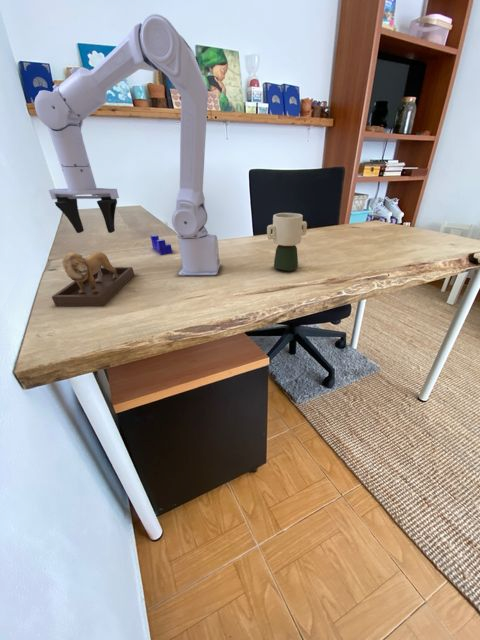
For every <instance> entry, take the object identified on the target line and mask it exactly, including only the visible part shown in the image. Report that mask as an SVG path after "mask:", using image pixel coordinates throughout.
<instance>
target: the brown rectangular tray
mask: <svg viewBox="0 0 480 640" xmlns="http://www.w3.org/2000/svg"><path fill="white" fill-rule="evenodd" d="M112 267H113V268H115V269H116V272H117V274H118V278H117V279H113V276H114V273H113V274H111V273H110V271H109V270H107V269H106V268H104V267H103V266H101V272H102V273H103V275H102V279H101V281H100V282H95V280H96V279H97V278H98V273H96V274H94V275H93V277H94V282H95V285H96V287H97V290H98V292H96V293H92V290H91V286H90V283H89V281H88V280H86V281H83V285H84V287H85V292H84V293H79V290H81V289H80V287H79V285H78V283H77V282H76V281H74V280H72V282H70V283H69V284H67V285H66V286H65V287H63V288H62V289H60V290H59V291H57V292H56V293H55V294H53V295H51V299H52V301H53V304H54V306H55V307H104V306H105V305H106V304H107V303H108V302H110V300H111V299H112V298H113V297H114V296H115V295H116V294H117V293H118V292H119V291H120V290H121V289H122V288H123V287H124V286H125V285H126V284H127V283H128V282H129V281H130V280H131V279H132V278H133V277H135V273H134V267H133V266H112Z"/></svg>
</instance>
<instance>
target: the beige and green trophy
mask: <svg viewBox="0 0 480 640" xmlns="http://www.w3.org/2000/svg"><path fill="white" fill-rule="evenodd" d="M303 216H304V215H303V214H301V213H296V212H295V213H294V212H278V213H275V214H273V215H272V224H268V225H267V226H266V237H267V238H266V239H267V240H269V241H270V240H272V241H273V243H274V244H277V246H276V249H275V252H274V253H275V254H274V262H273V267H274V268H275V269H278V270H280V271H288V272H289V271H290V272H291V271H295V270H297V269H298V268H299V258H298V247H297V245H299V244H301V242H302V236H305V235H307V228H308V223H307V221H305V220H303V218H304V217H303Z"/></svg>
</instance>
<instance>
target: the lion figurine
mask: <svg viewBox="0 0 480 640" xmlns="http://www.w3.org/2000/svg"><path fill="white" fill-rule="evenodd" d="M61 264H62V268H63V270H64V272H65V273H66V275H67V277H68V278H70V279H71V281H76V282H77V283H78V285H79V287H80V289H81V290H79V293H84V292H85V287H84V285H83V281H86V280H88V281H89V283H90V286H91V290H92V293H96V292H98V290H97V287H96V285H95V282H100V281H101V279H102V275H103V273H102V272H101V267H104V268H106V269H107V270H109V271H110V273H111V274H113V273H114V276H113V279H117V278H118V274H117V272H116V269H115V268H113V267H114V266H113V265H112V263H111V261H110V260H109V258H108V256H107V255H106V254H105V253H103V252H101V251H96V252H92V253H91V254H90V255H89V256H88V257H86V258H84V257H83V255H82V254H80V253H76V252H74V251H72V252H68V253H66V254H65V255H63V257H62V260H61ZM96 273H98V278H97V279H96V280H95V282H94V277H93V275H94V274H96Z"/></svg>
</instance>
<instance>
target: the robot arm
mask: <svg viewBox="0 0 480 640" xmlns="http://www.w3.org/2000/svg"><path fill="white" fill-rule="evenodd" d="M195 54H196V53H195V52H194V50H193V49H192V47H191V46H190V45H189V43H188V42H187V41H186V40H185V38H184V37H183V36H182V35H181V34H180V33H179V32H178V31H177V29H176V28H175V26H174V25H173V23H172V22H171V21H169V19H168V18H167V17H165V16H164V15H161V14H158V13H152V14H150V15H148V16H147V17H146V18H144V20H143V22H139V23H137V24H135V25H133V27H132V29H131V30H130V32H129V33H128V35H127V36H126V37H124V38H123V40H122V41H121V42H120V43H118V45H117V46H116V47H114V49H112V51H110V52H109V53H108V54H107V55H106V56H105V57H104V58H103V59H102V60H101V61H100V62H99V63H98V64H97V65H96V66H95V67H94V68H93V69H92V70H90V69H89V68H86V67H79V68H78V67H75V66H73V67H72V68H70V69H69V73H70V76H68V77H67V78H65V80H63V81H62V82H61V83H60V84H58V83H55V84H54V85H53V86H52V89H53V90H52V91H49V90H45V89H43V90H39V91H38V94H37V95H36V96H35V98H34V110H35V112H36V115H37V117H38V118H39V120H40V121H41V123H43V124H44V125H45V126H46V127H47V129H48V132H49V136H50V138H51V141H52V144H53V147H54V151H55V153H56V157H57V160H58V162H59V166H60V168H61V171H62V174H63V177H64V180H65V183H66V186H67V188H51V189H48V193H49V195H50V198H51V200H56V201H55V202H54V205H55V206H56V207H57V208H58V209H59V211H61V212H62V213H63V215H64V216H65V217H66V219H68V221H69V223H70V224H71V225H72V227H73V229H74V230H75V232H76V234H81V233H83V232H84V231H85V229H84V226H83V225H84V224H83V223H82V219H81V216H80V212H79V206H78V200H96V203H97V205H98V208H99V209H100V212H101V214H102V217H103V219H104V223H105V227H106V230H107V232H108V234H112V233H114V232H115V231H116V227H115V214H116V208H117V205H118V199H120V197H119V193H118V188H107V187H106V188H105V187H104V188H103V187H97V184H96V180H95V177H94V174H93V170H92V167H91V163H90V160H89V156H88V152H87V149H86V145H85V142H84V140H83V134H82V127H83V123H84V120H85V119H87V118H88V117H89V116H91V115H92V114H93V113H94V112H96V111H97V110H99V109H100V108H101V107H102V106H104V105H105V104H106V103H107V97H108V96H107V93H108V91H109V90H111V89H112V88H114V87H116V85H118V84H120V83H121V82H122V81H124V80H126V79H127V78H129V77H130V76H132V75H133V74H135V73H136V72H137V71H139V70H144V71H150V72H153V73H154V72H155V73H159V72H160V71H161V72H162V73H163V74H164V75H165V76H167V78H168V80H169V81H170V83H171V84H172V85H173V87H174V88H175V90H176V91H177V93H178V94H179V95H180V135H179V136H180V137H179V138H180V139H179V141H180V142H179V148H180V149H179V190H178V194H177V197H176V201H175V202H176V203H175V208H174V209H175V210H174V211H173V213H172V216H171V224H172V227H173V229H174V230H175V232H176V235H177V241H178V247H179V254H180V257H181V258H180V259H181V266H182V267H181V269H180V271H179V272H178V276H217V275H218V273H219V270H220V267H221V261H220V251H219V250H220V249H219V240H218V236H217V235H216V234H209V233H208V230H207V228H206V226H205V225H206V224H207V222H208V212H207V210H206V207H205V201H206V200H205V195H204V191H203V190H204V173H205V158H206V157H205V154H206V140H207V139H206V138H207V137H206V136H207V122H208V121H207V120H208V103H209V102H208V99H209V89H208V86H207V83H206V80H205V78H204V76H203V73H202V71H201V68H200V66H199V64H198V60H197V58H196V55H195Z"/></svg>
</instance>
